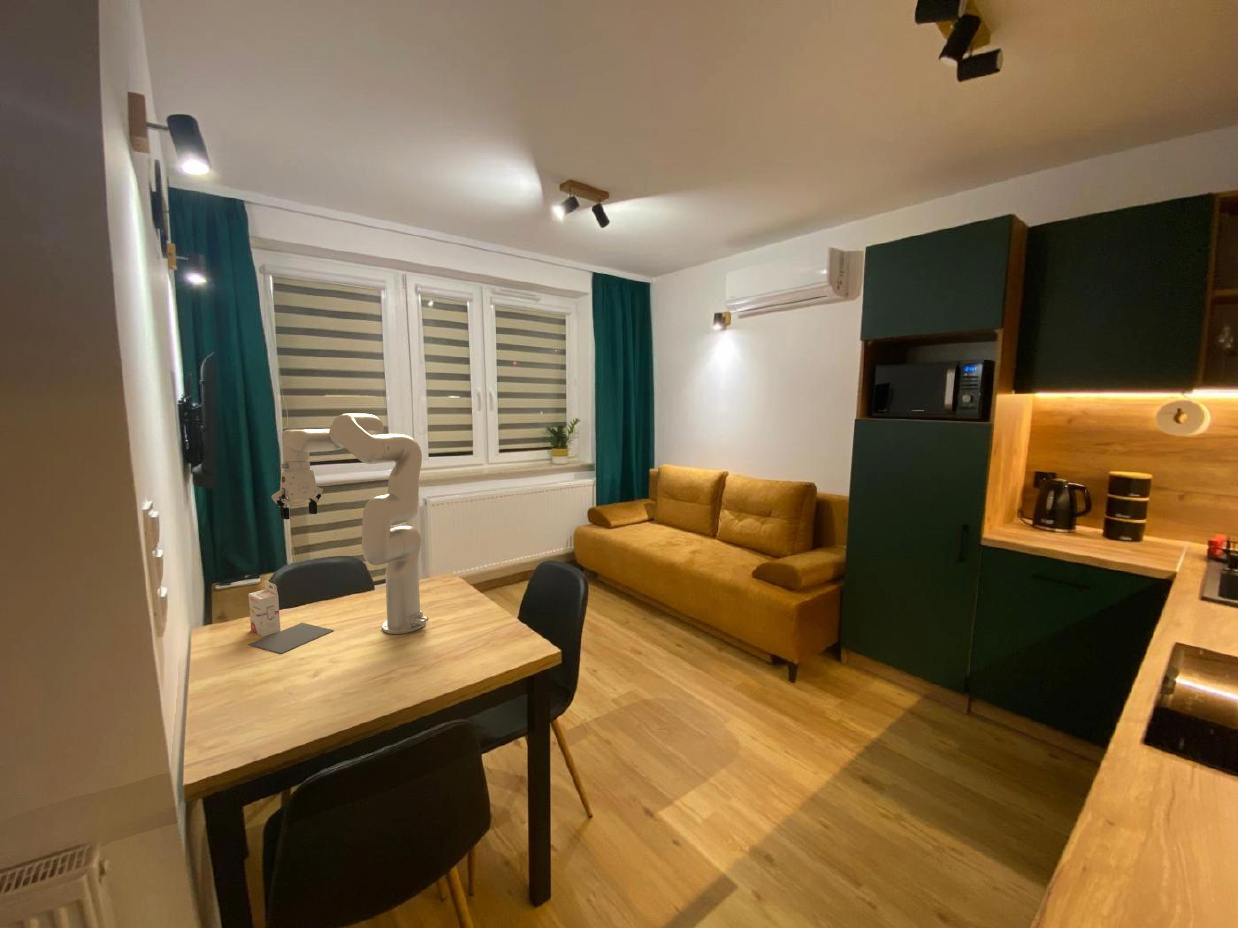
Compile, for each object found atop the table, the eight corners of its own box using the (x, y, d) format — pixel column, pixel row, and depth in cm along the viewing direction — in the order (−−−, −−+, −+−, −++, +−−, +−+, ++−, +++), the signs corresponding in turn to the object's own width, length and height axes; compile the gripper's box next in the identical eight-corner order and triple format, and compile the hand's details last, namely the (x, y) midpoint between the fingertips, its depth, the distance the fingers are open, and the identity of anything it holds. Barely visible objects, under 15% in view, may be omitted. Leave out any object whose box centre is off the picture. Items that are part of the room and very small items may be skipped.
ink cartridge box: (249, 630, 151) (246, 583, 150) (268, 624, 156) (265, 579, 154) (262, 637, 147) (259, 589, 146) (281, 631, 151) (278, 584, 150)
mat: (333, 630, 152) (333, 629, 152) (281, 653, 137) (281, 652, 137) (302, 623, 157) (302, 622, 157) (248, 644, 142) (248, 643, 142)
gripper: (278, 469, 158) (281, 522, 160) (328, 464, 174) (330, 512, 176) (263, 468, 161) (266, 520, 163) (313, 463, 177) (315, 511, 179)
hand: (299, 516), depth 169 cm, fingers open, 9 cm apart
